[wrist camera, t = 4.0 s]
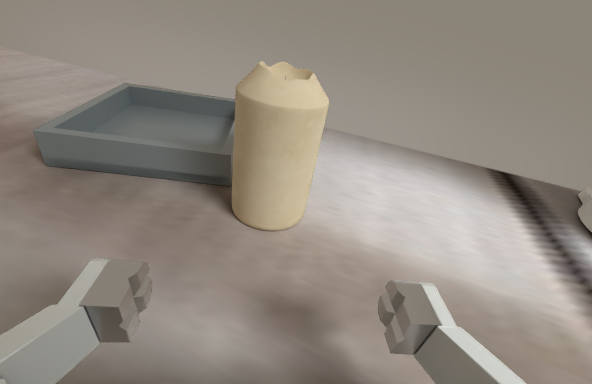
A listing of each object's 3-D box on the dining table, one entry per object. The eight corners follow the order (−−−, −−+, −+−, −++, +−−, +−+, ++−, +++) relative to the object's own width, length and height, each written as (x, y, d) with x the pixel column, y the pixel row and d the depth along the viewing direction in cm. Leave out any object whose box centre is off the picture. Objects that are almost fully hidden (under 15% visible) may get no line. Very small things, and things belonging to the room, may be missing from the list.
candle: (227, 230, 18) (232, 69, 13) (234, 184, 23) (240, 50, 17) (308, 234, 19) (346, 86, 14) (299, 189, 24) (325, 64, 18)
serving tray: (248, 124, 34) (249, 101, 32) (230, 186, 22) (231, 155, 21) (129, 108, 32) (124, 83, 31) (46, 165, 21) (32, 130, 19)
